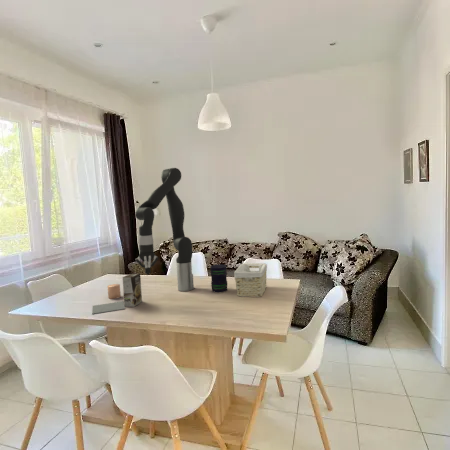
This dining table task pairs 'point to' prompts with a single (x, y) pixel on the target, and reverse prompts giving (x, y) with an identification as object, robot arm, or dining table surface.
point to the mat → (108, 307)
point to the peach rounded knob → (114, 291)
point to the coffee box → (132, 290)
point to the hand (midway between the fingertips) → (147, 274)
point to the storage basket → (250, 280)
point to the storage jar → (218, 278)
